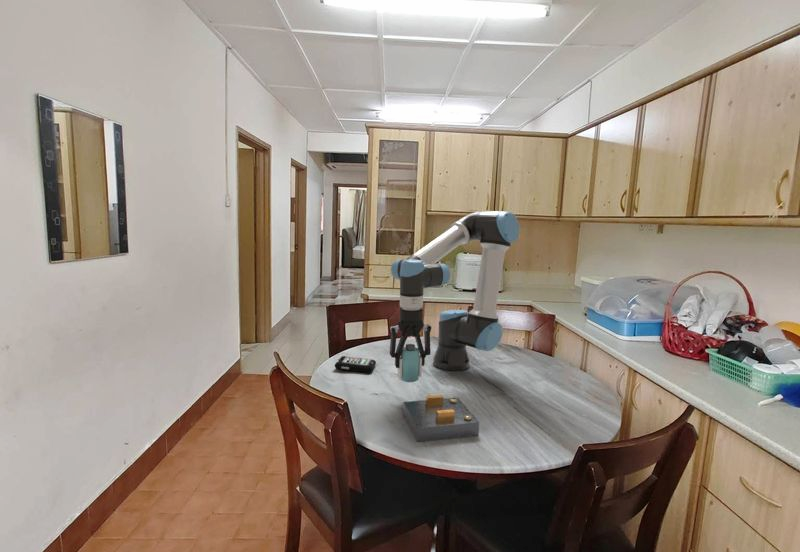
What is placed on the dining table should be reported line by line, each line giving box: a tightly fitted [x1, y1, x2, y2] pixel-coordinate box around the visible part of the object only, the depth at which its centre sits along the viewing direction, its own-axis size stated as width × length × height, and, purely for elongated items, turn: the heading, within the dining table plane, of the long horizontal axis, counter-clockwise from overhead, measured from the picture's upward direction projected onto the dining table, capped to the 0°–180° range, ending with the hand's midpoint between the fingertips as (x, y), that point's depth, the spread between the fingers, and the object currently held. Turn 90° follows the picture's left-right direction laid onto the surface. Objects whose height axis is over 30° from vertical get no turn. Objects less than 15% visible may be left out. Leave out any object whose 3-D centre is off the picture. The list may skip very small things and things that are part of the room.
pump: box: [399, 343, 420, 383], centre depth 133 cm, size 6×6×12 cm
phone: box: [334, 355, 377, 374], centre depth 162 cm, size 11×15×4 cm
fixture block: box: [402, 394, 480, 443], centre depth 119 cm, size 18×16×6 cm
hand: (409, 375), depth 134 cm, fingers closed on pump, 6 cm apart
